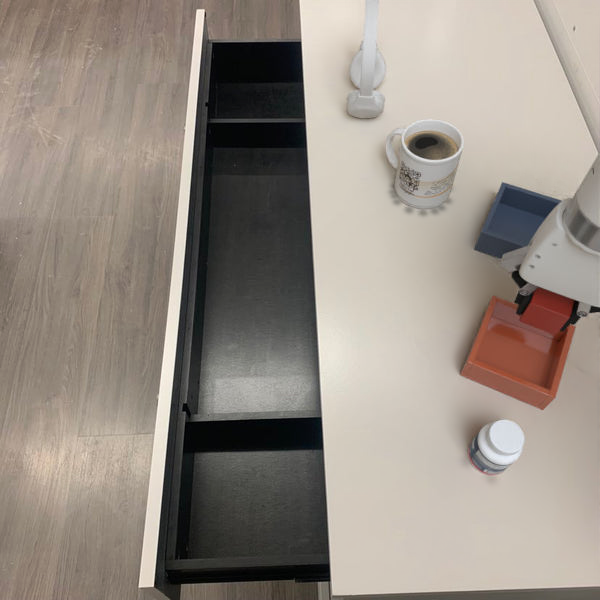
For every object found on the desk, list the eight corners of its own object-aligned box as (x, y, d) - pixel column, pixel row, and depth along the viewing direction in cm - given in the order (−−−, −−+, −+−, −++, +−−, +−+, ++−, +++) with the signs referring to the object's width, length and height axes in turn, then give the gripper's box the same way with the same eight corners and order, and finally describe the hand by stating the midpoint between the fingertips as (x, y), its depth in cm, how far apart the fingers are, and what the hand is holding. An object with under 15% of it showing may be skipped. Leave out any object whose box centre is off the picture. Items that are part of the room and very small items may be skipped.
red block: (563, 306, 65) (578, 287, 62) (555, 335, 63) (569, 317, 60) (528, 293, 67) (540, 274, 63) (518, 321, 65) (530, 303, 61)
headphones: (384, 73, 110) (394, -27, 93) (382, 134, 101) (393, 35, 84) (350, 72, 111) (354, -28, 94) (344, 133, 101) (347, 34, 84)
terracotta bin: (563, 341, 77) (575, 326, 73) (542, 410, 72) (555, 398, 68) (484, 311, 80) (492, 295, 76) (459, 375, 75) (467, 361, 71)
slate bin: (563, 223, 88) (574, 204, 84) (546, 275, 83) (557, 258, 79) (494, 200, 91) (502, 181, 87) (473, 249, 86) (480, 232, 82)
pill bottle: (483, 427, 71) (501, 404, 63) (516, 455, 69) (540, 434, 61) (458, 455, 69) (474, 435, 61) (492, 485, 67) (513, 467, 59)
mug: (397, 213, 91) (406, 166, 81) (381, 164, 97) (387, 114, 87) (457, 204, 91) (472, 156, 82) (437, 155, 97) (449, 105, 88)
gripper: (714, 218, 49) (619, 315, 64) (530, 163, 53) (483, 266, 69) (704, 280, 45) (607, 366, 61) (509, 215, 50) (465, 311, 65)
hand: (542, 312), depth 65 cm, fingers closed on red block, 4 cm apart
